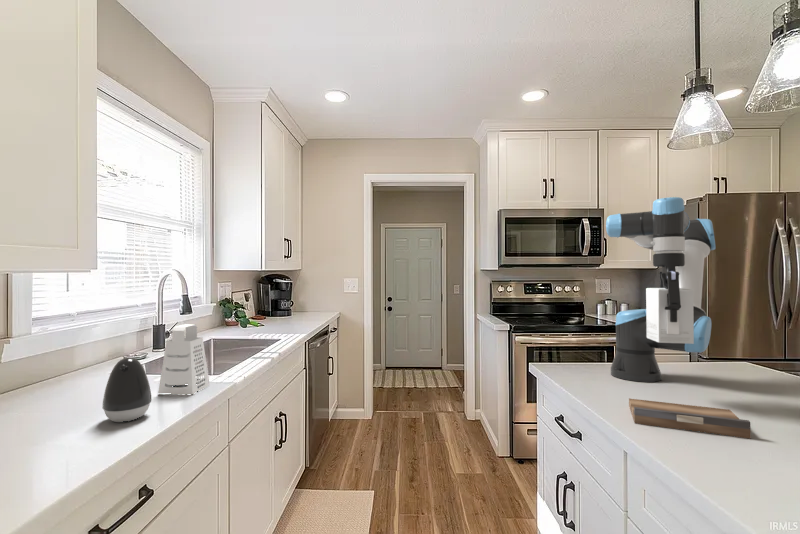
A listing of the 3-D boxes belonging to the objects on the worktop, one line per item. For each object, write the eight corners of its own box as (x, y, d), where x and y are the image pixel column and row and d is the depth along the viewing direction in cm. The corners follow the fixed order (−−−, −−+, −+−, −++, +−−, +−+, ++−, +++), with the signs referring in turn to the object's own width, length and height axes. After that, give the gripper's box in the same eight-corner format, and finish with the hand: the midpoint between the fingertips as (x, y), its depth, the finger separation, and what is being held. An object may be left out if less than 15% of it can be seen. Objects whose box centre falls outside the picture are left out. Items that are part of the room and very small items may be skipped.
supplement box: (695, 344, 110) (694, 288, 110) (658, 343, 112) (657, 288, 112) (679, 338, 119) (679, 287, 119) (645, 337, 121) (645, 287, 121)
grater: (209, 385, 132) (210, 323, 132) (192, 395, 121) (192, 328, 121) (177, 385, 132) (177, 323, 132) (157, 395, 121) (158, 327, 122)
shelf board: (628, 405, 111) (628, 392, 111) (729, 417, 101) (729, 403, 102) (634, 423, 98) (634, 408, 98) (751, 439, 88) (750, 422, 89)
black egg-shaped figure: (96, 429, 95) (96, 363, 95) (109, 414, 105) (109, 355, 105) (146, 423, 99) (147, 360, 99) (154, 409, 108) (155, 352, 109)
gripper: (647, 254, 127) (648, 325, 127) (659, 251, 107) (660, 336, 107) (676, 253, 124) (676, 326, 124) (694, 250, 104) (695, 338, 104)
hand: (669, 331), depth 115 cm, fingers closed on supplement box, 10 cm apart
